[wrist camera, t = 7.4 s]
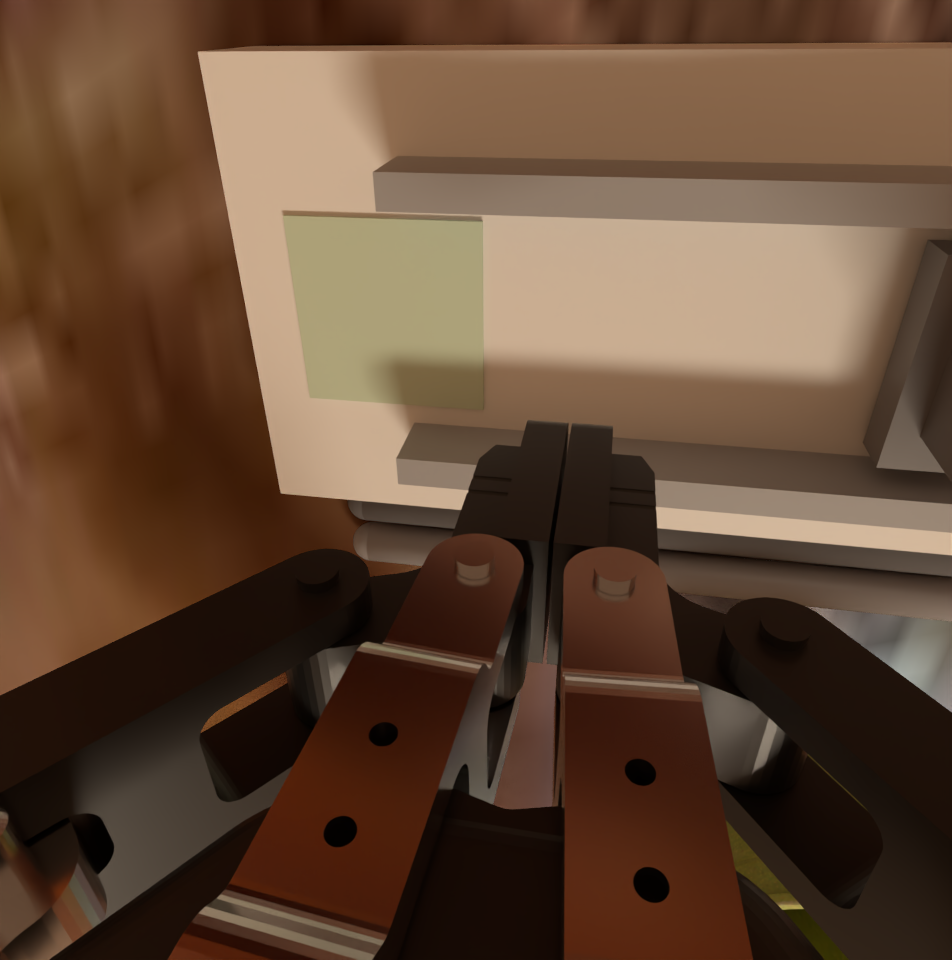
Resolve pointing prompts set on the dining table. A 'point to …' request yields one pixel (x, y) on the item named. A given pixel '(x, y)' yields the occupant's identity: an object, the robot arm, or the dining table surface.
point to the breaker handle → (919, 376)
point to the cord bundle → (718, 564)
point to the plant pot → (781, 893)
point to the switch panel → (591, 265)
